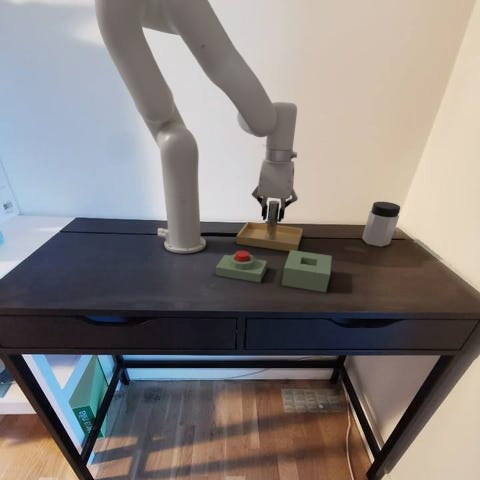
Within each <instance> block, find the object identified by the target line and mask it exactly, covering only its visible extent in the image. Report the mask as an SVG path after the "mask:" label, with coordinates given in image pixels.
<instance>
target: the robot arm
mask: <svg viewBox="0 0 480 480" xmlns="http://www.w3.org/2000/svg"><path fill="white" fill-rule="evenodd" d="M94 9H95V16H96V22H97V26H98V30H99V33H100V35H101V38H102V41H103V43H104V46H105V48H106V50H107V52H108V54H109V56H110V58H111V61H112V62H113V64H114V66H115V68H116V69H117V72H118V74H119V75H120V78H121V80H122V81H123V84H124V85H125V87H126V89H127V91H128V92H129V94H130V97H131V98H132V101H133V103H134V106H135V109H136V111H137V112H138V113H139V115H140V116H141V118H142V120H143V122H144V124H145V125H146V127H147V129H148V131H149V132H150V133H149V134H151V137H152V138H153V140H154V141H155V143H156V145H157V147H158V150H159V156H160V163H161V174H162V175H161V176H162V186H163V193H164V202H165V203H164V204H165V212H166V213H165V214H166V222H167V229H166V228H161V227H158V229H157V237H158V238H164V239H165V240H164V243H163V244H164V248H165V249H166V250H167V251H169V252H171V253H175V254H182V255H183V254H194V253H198V252H200V251H203V250H204V249H205V248H206V246H207V241H206V240H205V239H204V238H203V237H202V236H201V215H200V214H201V213H200V193H199V191H200V189H199V164H200V163H199V162H200V160H199V158H200V157H199V156H200V155H199V147H198V142H197V139H196V137H195V135H194V134H193V133H192V131H191V130H190V129H188V128H187V125H186V123H185V122H184V119H183V117H182V115H181V113H180V111H179V109H178V106H177V105H176V102H175V98H174V97H175V96H174V94H173V92H172V89H171V87H170V86H169V84H168V82H167V80H166V79H165V77H164V75H163V72H162V70H161V69H160V67H159V65H158V63H157V61H156V59H155V57H154V54H153V52H152V50H151V47H150V45H149V42H148V40H147V38H146V36H145V33H144V29H143V28H145V29H149V30H153V31H156V32H160V33H165V34H168V35H169V34H170V35H176V36H179V37H180V38H181V40H182V41H183V43H184V44H185V45H186V47H187V48H188V49H189V51H190V53H191V54H192V57H194V59H195V60H196V62H197V63H198V65H199V67H200V68H201V70H202V71H203V73H204V74H205V76H206V77H207V78H208V79H209V81H210V82H211V83H212V84H214V86H216V87H217V88H219V89H220V90H221V91H222V92H223V93H224V94H225V96H227V98H228V99H229V100H230V101H231V103H232V105H234V107H235V108H236V110H237V113H236V114H237V115H236V117H237V118H236V120H237V123H238V126H239V127H240V129H241V130H242V131H244V132H245V133H246V134H248V135H252V136H254V137H257V138H264V137H266V140H265V154H264V158H263V159H262V161H261V166H260V171H259V177H258V183H257V186H256V187H255V189H253V191H252V193H251V196H252V197H253V198H254V199H255V200H256V201H257V202H258V203H259V205H260V207H261V215H260V217H262V221H266V220H267V219H268V210H269V205H268V203H267V202H268V200H269V198H270V199H277V200H278V199H279V200H280V207H279V213H278V222H277V223H281V222H282V220H284V218H285V214H286V213H285V212H286V208H288V207H289V206H290V205H291V204H293V203H295V202H297V201H298V198H299V196H298V194H297V192H296V190H295V187H294V182H295V161H294V160H293V159H297V158H298V152H295V151H294V141H295V135H296V123H297V117H298V107H297V105H296V104H295V103H293V102H284V101H283V102H282V101H275V102H272V100H271V99H270V97H269V95H268V93H267V91H266V89H265V88H264V86H263V84H262V83H261V81H260V79H259V78H258V77H257V75H256V74H255V72H254V71H253V70H252V68H251V66H249V64H248V63H247V62H246V60H245V59H244V57H243V55H241V53H240V52H239V51H238V50H237V48H236V46H235V45H234V43H233V42H232V40H231V38H230V37H229V35H228V33H227V32H226V31H227V30H225V28H224V26H223V24H222V23H221V21H220V19H219V17H218V16H217V14H216V12H215V10H214V8H213V7H212V5H211V3H210V1H209V0H94Z"/></svg>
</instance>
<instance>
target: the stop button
mask: <svg viewBox="0 0 480 480" xmlns="http://www.w3.org/2000/svg"><path fill="white" fill-rule="evenodd" d="M234 254H235V260H236V261H238V262H247V261H249V254H250V252H248V251H246V250H237V251H235V253H234Z"/></svg>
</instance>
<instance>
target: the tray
mask: <svg viewBox="0 0 480 480" xmlns="http://www.w3.org/2000/svg"><path fill="white" fill-rule="evenodd" d="M303 231H304V229H303V228H300V227H294V226H285V225H279V224H277V231H276V239H274V240H269V239H267V238H266V232H267V223H264V222H263V223H262V222H254V221H247V222H246V223H245V224H244V226H243V227H242V228H241V230H240V231H239V232H238V234H236V243H235V244H237V245H241V246H242V245H243V246H248V247H249V246H250V247H257V248H263V249H264V248H265V249H270V250H278V251H284V252H290V250H294V251H298V249H299V246H300V243H301V239H302V236H303Z"/></svg>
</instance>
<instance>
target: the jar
mask: <svg viewBox="0 0 480 480" xmlns="http://www.w3.org/2000/svg"><path fill="white" fill-rule="evenodd" d="M400 211H401V206H400V205H399V204H397V203H394V202H390V201H375V202H373V204H372V206H371V210H370V211H369V212H368V215H367V219H366V224H365V227H364V230H363V233H362V238H361V239H362V240H363V241H364V242H365V243H366V244H367V245H370V246H375V247H381V248H382V247H385V246H388V245H390V244H391V242H392V239H393V235H394V233H395V231H396V230H395V229H396V227H397V225H398V221H399V218H400V215H399V214H400Z"/></svg>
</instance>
